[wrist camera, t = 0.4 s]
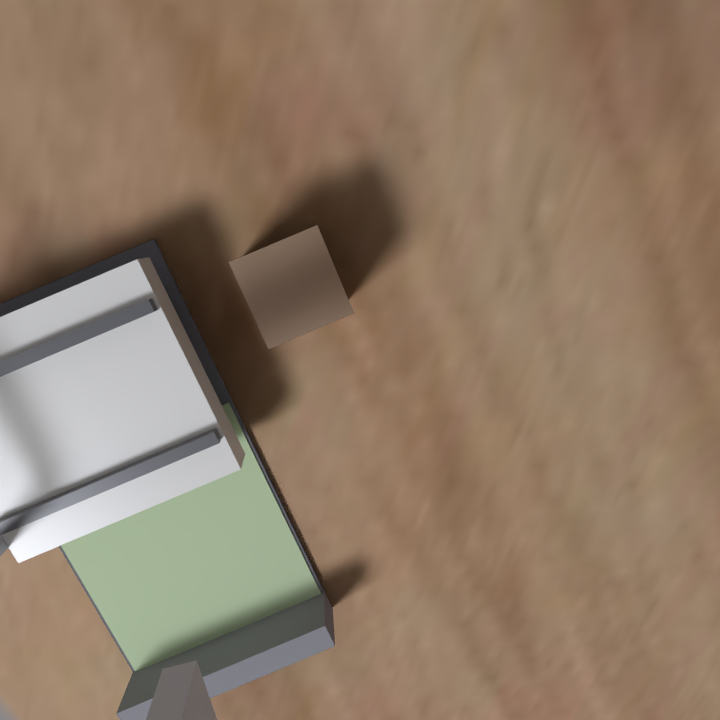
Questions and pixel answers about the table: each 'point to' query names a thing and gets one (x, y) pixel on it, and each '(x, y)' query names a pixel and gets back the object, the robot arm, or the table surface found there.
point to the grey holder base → (199, 558)
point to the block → (291, 287)
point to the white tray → (102, 411)
